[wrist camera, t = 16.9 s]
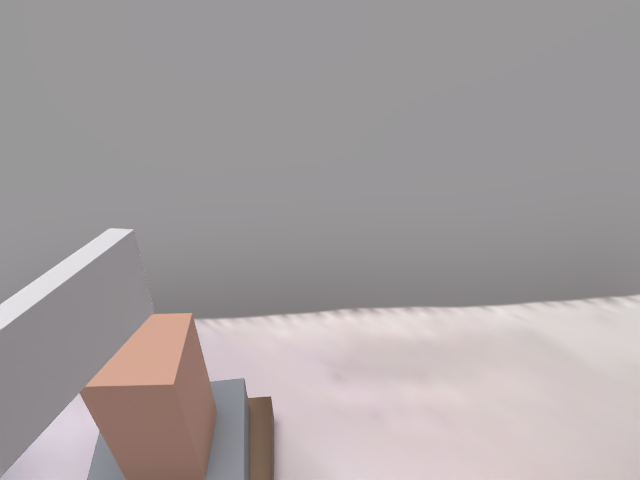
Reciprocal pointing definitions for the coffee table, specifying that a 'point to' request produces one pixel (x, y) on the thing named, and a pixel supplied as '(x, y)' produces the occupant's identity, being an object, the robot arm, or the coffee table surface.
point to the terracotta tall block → (156, 402)
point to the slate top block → (227, 442)
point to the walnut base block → (261, 438)
